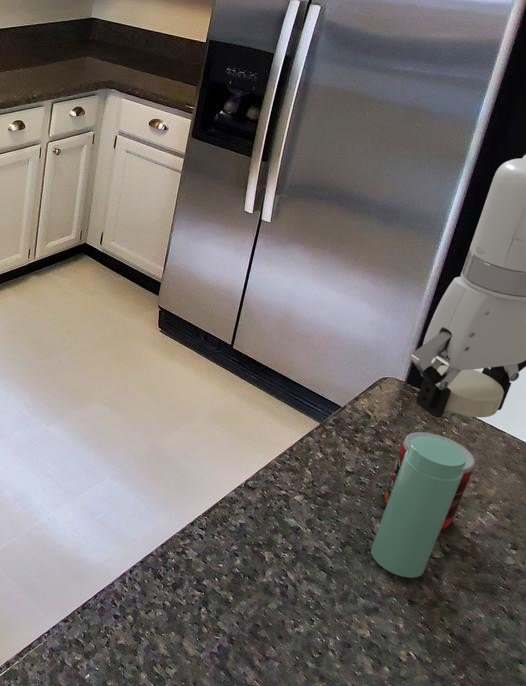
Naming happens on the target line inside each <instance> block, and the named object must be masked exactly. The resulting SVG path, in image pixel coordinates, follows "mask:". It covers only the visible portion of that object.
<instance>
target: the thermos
mask: <svg viewBox="0 0 526 686" xmlns="http://www.w3.org/2000/svg"><path fill="white" fill-rule="evenodd" d="M465 465H466V457H465V455H464V453H463V452H462V451H461V450H460V449H459V448H458V447H456V446H455V445H453V444H451V443H449V442H447V441H445V440H442V439H439V438H436V437H431V436H419V437H416V438H414V439H412V440H411V442H410V448H409V450H407V451H406V452H405V455H404V458H403V461H402V463H401V466H400V469H399V472H398V474H397V477H396V480H395V483H394V486H393V488H392V491H391V494H390V497H389V500H388V502H387V505H386V504H385V508H384V511H383V514H382V516H381V520H380V522H379V525H378V527H377V531H376V533H375V536H374V539H373V541H372V545H371V547H370V553H371V554H370V555H371V557H372V558H373V560H374V561H375V563H377V565H379V566H380V567H382V568H383V569H384V570H386V571H387V572H389V573H391V574H393V575H396V576H399V577H402V578H409V579H413V578H419V577H421V576H422V575H424V573H425V571H426V568H427V565H428V563H429V560H430V559H431V556H432V553H433V551H434V549H435V547H436V543H437V541H438V538H439V536H440V533H441V531H442V530H441V529H442V526H443V524H444V521H445V519H446V516H447V514H448V511H449V509H450V506H451V504H452V501H453V499H454V496H455V494H456V491H457V489H458V486H459V484H460V481H461V479H462V476H463V470H462V469H463V468H464V467H465Z"/></svg>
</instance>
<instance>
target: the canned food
mask: <svg viewBox="0 0 526 686" xmlns="http://www.w3.org/2000/svg"><path fill="white" fill-rule="evenodd" d="M419 436H431V437H436V438H439V439H442V440H445V441H447V442H449V443H451V444H453V445H455V446H456V447H458V448H459V449H460V450H461V451H462V452H463V453H464V455H465V457H466V465H465V467H464V468H463V469H462V470H463V476H462V479H461V481H460V484H459V486H458V489H457V491H456V494H455V496H454V499H453V501H452V504H451V506H450V509H449V511H448V514H447V516H446V519H445V521H444V524H443V526H442V529H441V531H444V530H446V529H447V528H448V527H449V526H450V525H451V523H452V522H453V520H454V517H455V514H456V512H457V511H458V510H457V509H458V507H459V505H460V503H461V500H462V497H463V495H464V493H465V491H466V488H467V486H468V483H469V481H470V479H471V477H472V473H473V471H474V468H475V463H476V460H475V457H474V455H473V454H472V453H471V452H470V451H469V450H468V449H467V448H466V447H464V446H463V445H461V444H460V443H458V442H456V441H455V440H452V439H450V438H448V437H445V436H442V435H439V434H436V433H432V432H424V431H422V432H421V431H419V432H417V431H416V432H411V433H409V434H407V435H406V437H405V438H404V439H403V442H402V445H401V448H400V450H399V454H398V456H397V459H396V462H395V464H394V467H393V471H392V473H391V477H390V479H389V482H388V485H387V488H386V491H385V494H384V502H385V506H386V505H387V502H388V500H389V497H390V494H391V491H392V488H393V486H394V483H395V480H396V477H397V474H398V472H399V469H400V466H401V463H402V461H403V458H404V455H405V452H406V451H407V450H409V448H410V442H411V440H412V439H414V438H416V437H419Z"/></svg>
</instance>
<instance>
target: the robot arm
mask: <svg viewBox="0 0 526 686" xmlns="http://www.w3.org/2000/svg"><path fill="white" fill-rule="evenodd" d="M470 243H471V244H470V246H469V249H468V253H467V256H466V258H465V261H464V264H463V267H462V270H461V272H460V276H457V277H454V278H453V280H452V281H451V282H450V284H449V285H448V287H447V288H446V290H445V292H444V294H443V295H442V297H441V299H440V301H439V302H438V305H437V306H436V309H435V311H434V313H433V316H432V318H431V320H430V323H429V325H428V327H427V331H426V333H425V336H424V339H423V342H422V345H421V346H420V347H418V348H417V349H416V350H414V351H413V352H412V353H411V354H410V355H409V358H410V360H411V362H412V363H413V364H414V367H415V369H416V370H417V371H418V372H419V374H420V376H421V377H422V383H421V385H420V389H419V391H418V394H417V398H416V402H415V403H416V404H417V405H418V406H419V407H421V408H422V409H423V410H424V411H425V412H427V413H428V414H429V415H430V416H432V417H433V418H435V419H437V418H442V417H443V415H444V413H445V410H446V409H445V407H446V404H447V401H448V399H449V396H450V393H451V390H450V389H449V388H448V386H449V384H450V383H451V382H452V381H453V380H454V378H455V377H456V376H457V375H458V374H459V373H460V371H461V370H471V369H473V370H480V369H482V370H481V373H483V374H486V375H487V376H489V377H491V378H492V379H494V380H495V381H497V382H498V383H499V384H500V385H501V386H502V388H503V390H504V394H503V399H502V401H501V404H500V406H499V409H498V410H497V411H501V410H502V408H503V406H504V404H505V401H506V398H507V396H508V393H509V390H510V388H511V386H512V382H515V381H517V380H518V379H519V378H520V372H521V371H522V370H524V369H525V368H526V154H524V155H523V156H522V158H513V159H509V160H507V161H505V162H503V163H502V164H501V165H500V166H499V167H498V168H497V170H496V171H495V173H494V176H493V178H492V181H491V184H490V186H489V190H488V193H487V196H486V199H485V202H484V205H483V208H482V211H481V214H480V217H479V220H478V223H477V226H476V228H475V231H474V235H473V237H472V241H471V242H470ZM442 365H446V366H448V369H447V370H446V371H445V372H444V373H443V375H442V376H441V374H440V373H439V372H438V371H437V369H438V368H439V367H440V366H442Z"/></svg>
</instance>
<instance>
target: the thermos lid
mask: <svg viewBox="0 0 526 686" xmlns="http://www.w3.org/2000/svg"><path fill="white" fill-rule="evenodd" d="M447 369H448V366H446V365H445V364H441V366H440V367H439V368H438V369H437V371H438V372H439V373H440V374H441V376H442V375H443V373H444V372H445V371H446V370H447ZM448 388H449V389H450V390H451V393H450V396H449V399H448V401H447V404H446V407H445V410H447V411H449V412H451V413H455V414H458V415H461V416H465V417H472V418H488V417H493V416H494V415H495V414H496V413H497V412H498V411H499V410H498V409H499V406H500V404H501V401H502V399H503V394H504V390H503V388H502V386H501V385H500V384H499V383H498V382H497V381H495V380H494V379H492V378H491V377H489V376H487V375H486V374H483V373H482V371H479V370H477V369H471V370H461V371H460V373H459V374H458V375H457V376H456V377H455V378H454V380H453V381H452V382H451V383H450V384H449V386H448Z"/></svg>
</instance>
